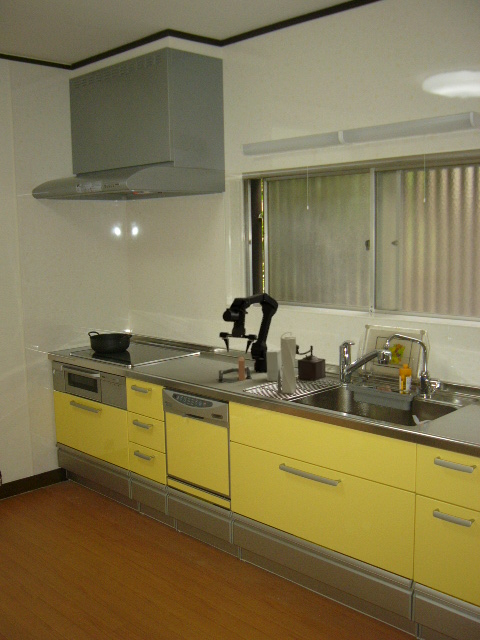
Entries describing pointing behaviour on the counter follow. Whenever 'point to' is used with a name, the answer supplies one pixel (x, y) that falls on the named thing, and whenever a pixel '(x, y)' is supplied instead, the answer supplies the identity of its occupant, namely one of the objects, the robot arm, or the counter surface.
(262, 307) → the robot arm
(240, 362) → the orange rectangular frame
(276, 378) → the skincare box
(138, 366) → the counter surface
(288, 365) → the skyscraper
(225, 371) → the gray arch
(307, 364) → the brown coffee grinder
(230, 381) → the pad
